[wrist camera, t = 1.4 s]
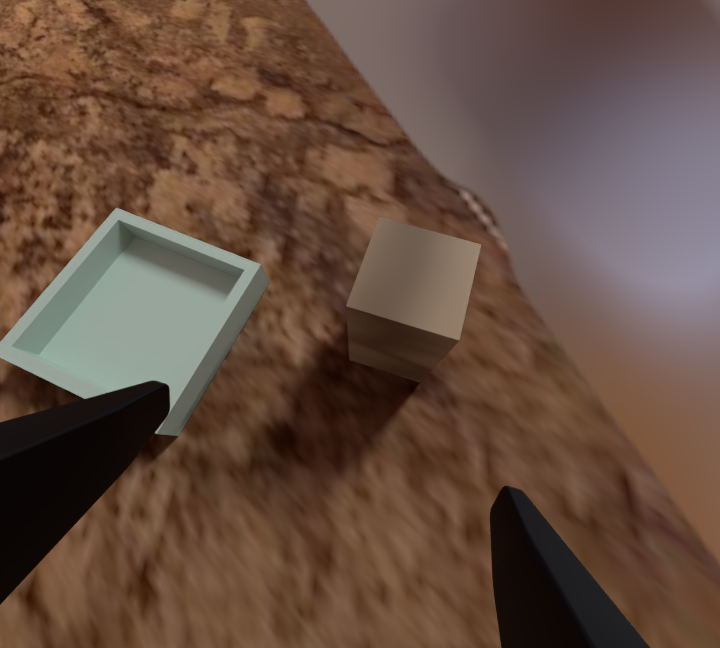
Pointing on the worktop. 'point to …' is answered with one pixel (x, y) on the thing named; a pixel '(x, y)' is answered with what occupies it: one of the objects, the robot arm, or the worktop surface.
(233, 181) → the worktop surface
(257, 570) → the worktop surface
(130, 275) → the tray
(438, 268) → the walnut block
